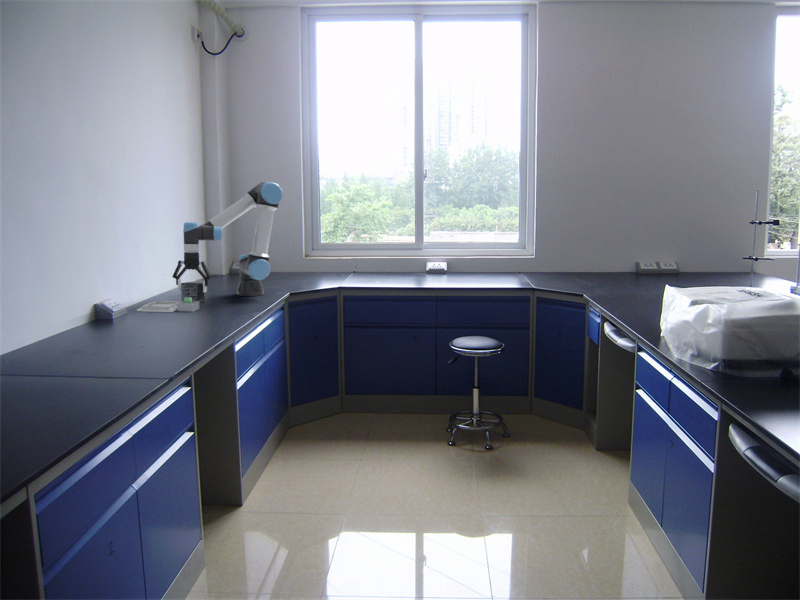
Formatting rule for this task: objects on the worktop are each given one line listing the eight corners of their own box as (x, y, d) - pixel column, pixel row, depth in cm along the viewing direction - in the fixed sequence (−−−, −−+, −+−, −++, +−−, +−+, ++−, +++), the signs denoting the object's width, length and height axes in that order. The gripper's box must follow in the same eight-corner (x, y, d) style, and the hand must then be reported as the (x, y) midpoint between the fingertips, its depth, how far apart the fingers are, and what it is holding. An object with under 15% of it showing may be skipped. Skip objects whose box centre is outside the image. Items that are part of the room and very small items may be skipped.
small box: (205, 302, 333) (205, 282, 332) (198, 303, 327) (197, 284, 326) (189, 300, 337) (188, 281, 335) (181, 302, 331) (180, 282, 329)
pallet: (187, 305, 321) (187, 301, 321) (172, 312, 303) (172, 307, 303) (153, 304, 322) (152, 300, 322) (136, 311, 304) (136, 306, 304)
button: (193, 305, 311) (192, 297, 311) (190, 306, 308) (190, 298, 307) (186, 305, 312) (185, 297, 311) (183, 306, 308) (183, 298, 307)
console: (199, 308, 314) (199, 300, 313) (193, 311, 306) (193, 303, 305) (183, 308, 314) (183, 300, 314) (177, 311, 306) (177, 303, 306)
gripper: (217, 252, 331) (217, 291, 334) (171, 250, 332) (172, 289, 335) (212, 253, 323) (212, 293, 327) (165, 251, 324) (166, 291, 328)
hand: (192, 291), depth 331 cm, fingers open, 13 cm apart
